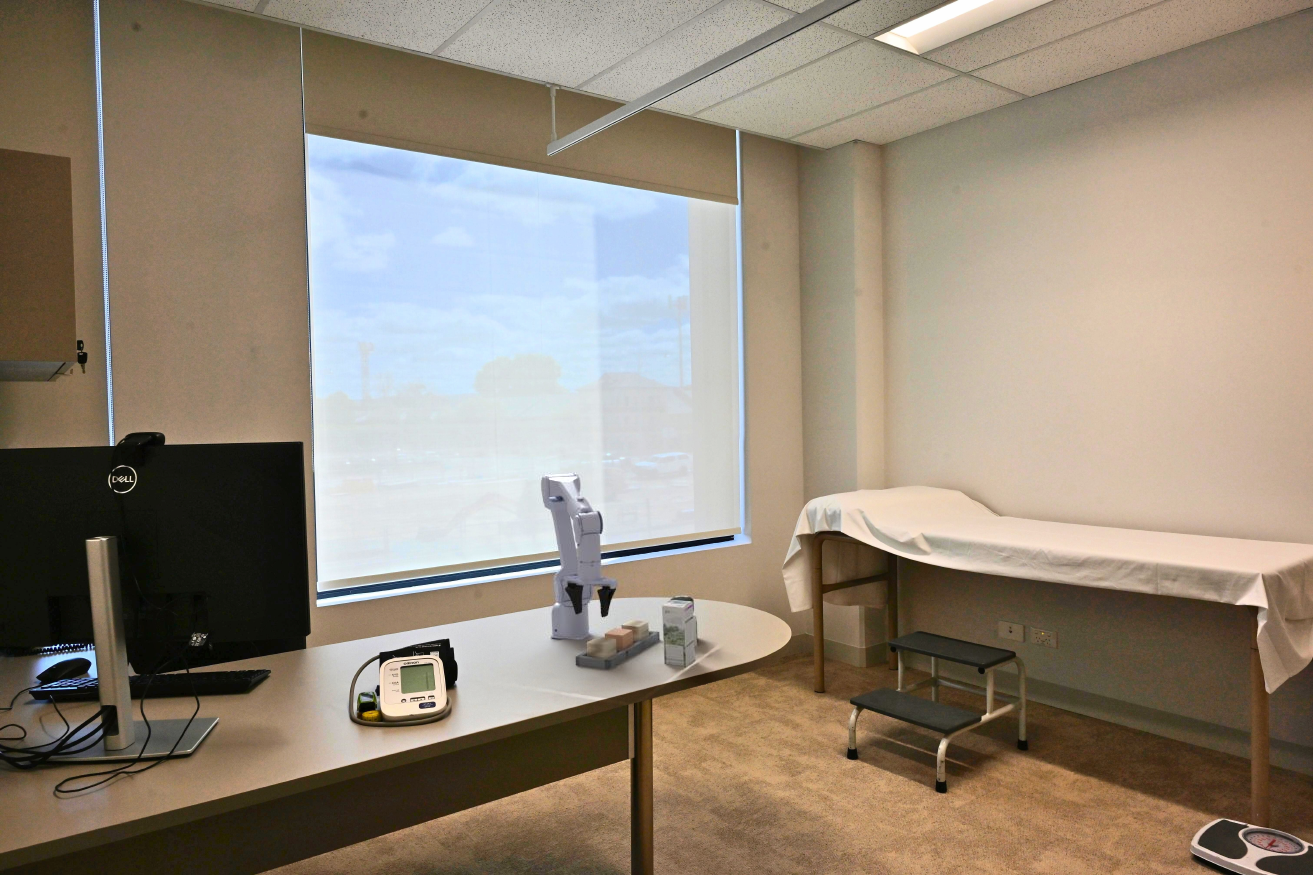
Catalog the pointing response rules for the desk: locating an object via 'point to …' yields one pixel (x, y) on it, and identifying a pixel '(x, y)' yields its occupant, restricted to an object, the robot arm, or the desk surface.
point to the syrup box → (678, 632)
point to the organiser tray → (621, 653)
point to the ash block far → (637, 628)
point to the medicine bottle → (686, 598)
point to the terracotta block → (621, 637)
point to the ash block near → (601, 648)
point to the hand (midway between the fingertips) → (591, 614)
